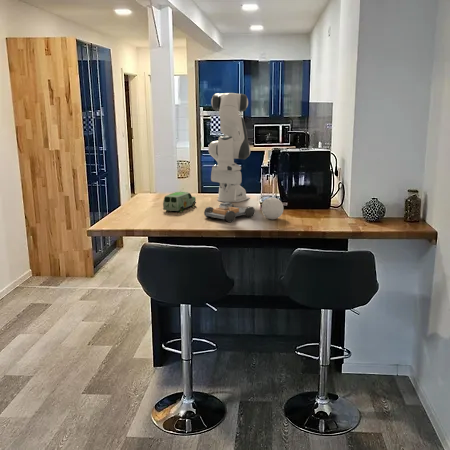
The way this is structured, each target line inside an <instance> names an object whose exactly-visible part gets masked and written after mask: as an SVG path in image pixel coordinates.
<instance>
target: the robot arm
mask: <svg viewBox="0 0 450 450" xmlns="http://www.w3.org/2000/svg"><path fill="white" fill-rule="evenodd" d="M211 97H212V98H211V101H210V103H211V107H212V109H213V110H214V111H216V112H219V120H220V124H219V125H220V127H219V128H220V129H219V130H220V132H221V134H223V135H220V136H219V137H218V138H217V139H218V140H214V141H211V142H210V143H209V144H208V147H207V148H208V150H207V151H208V153H209V155H210V156H211V157H212V158H213V159H214V160H215V161H216V163H217V165H216V164H214V165H212V167H211V173H210V174H211V175H210V180H211V182H213V183H218V184H219V188H218V196H217V201H218V202H221V203H225V202H229V203H233V202H234V203H240V202H243V201H247V200H249V199H250V198H251V197H250V196H248V195H247V191H246V189H245V188H244V187H243V186H241V184H242V180H243V179H242V172H241V170H242V166H241V165H239V164H237V163H236V162H235V159H238V160H246V159H247V158H248V157H250V154H251V146H250V143H249V140H248V133H247V127H246V122H245V119H244V118H243V116H241V115H240V113H242V112H245V111H246V110H247V108H248V106H249V99H248V96H247V95H246V94H244V93H235V92H224V93H219V92H217V93H214V94H213V95H212V96H211Z"/></svg>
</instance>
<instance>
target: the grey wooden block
mask: <svg viewBox="0 0 450 450" xmlns="http://www.w3.org/2000/svg"><path fill="white" fill-rule="evenodd" d="M231 203H232V202H220V203H219V205H218V208H219V210H224V211H226V210H231V209H232V205H231Z"/></svg>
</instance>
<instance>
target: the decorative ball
mask: <svg viewBox="0 0 450 450" xmlns="http://www.w3.org/2000/svg"><path fill="white" fill-rule="evenodd" d="M261 212H262V214H263V216H264V217H265V218H266V219H269V220H276V219H278V218H280V217H281V216H282V215H283V213H284V205H283V202H282V201H281V200H280V199H279V198H276V197H268V198H266V199H264V200H263V202H262V203H261Z"/></svg>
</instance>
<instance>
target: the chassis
mask: <svg viewBox="0 0 450 450" xmlns="http://www.w3.org/2000/svg"><path fill="white" fill-rule="evenodd" d="M230 203H231V205H232V209H231V210H226V211H224V210H219V207H216V208H215V207H213V206H206V207H205V209H204V212H203V215H204V216H205V218H209V219H211V218H216V219H221V220H225V221H226V222H227V223H233V222H234V221H235V220H236V217H240V216H243V215H245V216H246V218H253V217H254V215H255V213H256V211H255V208H254V207H253V206H251V205H250V206H247V207H245V208H244V207H242V206H241V207H240V206H234V204H233V202H230Z"/></svg>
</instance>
